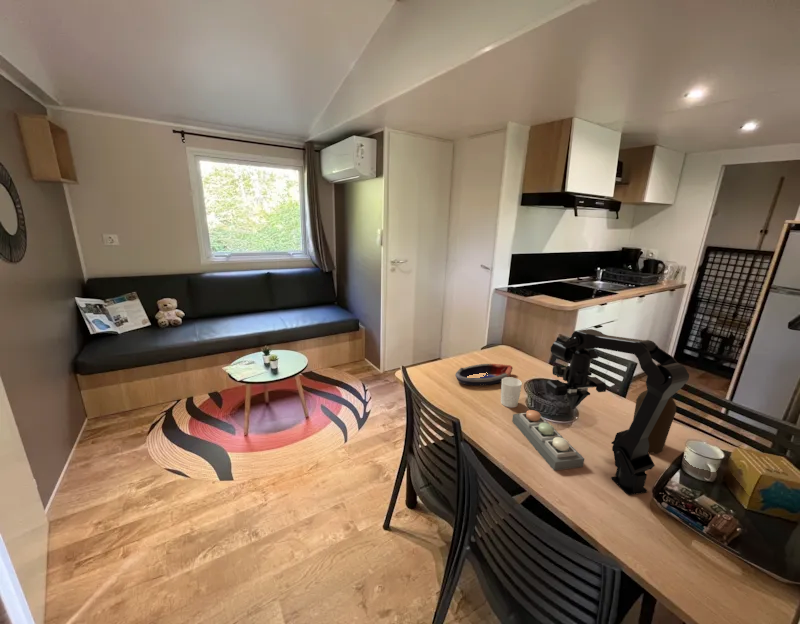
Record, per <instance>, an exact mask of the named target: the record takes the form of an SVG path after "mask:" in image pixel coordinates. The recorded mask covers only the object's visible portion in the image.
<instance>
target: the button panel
mask: <svg viewBox="0 0 800 624" xmlns="http://www.w3.org/2000/svg"><path fill="white" fill-rule="evenodd" d="M511 419H512V420H511V421H512V423H513V424H514V425H515V427H516V428H517V429H518V430H519V431H520V432H521V433H522V435H523V436H524V437H525V438H526V440H528V441H529V443H530V444H531V445H532V447H533V448H534V449H535V450H536V451H537V453H538V454H539V455H540V456H541V458H543V460H545V462H546V464H548V465H549V467H550V468H551V469H552V471H562V470H567V469H577V468H583V467H584V464H585V458H584V456H583V455H581V453H580V452H578V450H576V448H575V447H574V446H573V445H571V444H570V445H569V450H568V451H559V450H557V449H555V448H554V447H553V445H552V443H553V439H554V438H555V437H560V438H564V437H563V436H562V435H561V434H560V433H559V432H558V430H556V429H555V428H554V433H553V435H544V434H542V433H540V432H539V430H538V428H539V424H540V423H548V424H550V422H548V421H547V420H546V419H545V418H544V417H543V416H542V415H541V416H540V420H539V421H536V422H535V421H531V420H529V419H527V418H526V412H521V413H520V412H519V413H513V414H512V418H511Z"/></svg>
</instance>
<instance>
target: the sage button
mask: <svg viewBox="0 0 800 624" xmlns="http://www.w3.org/2000/svg"><path fill="white" fill-rule="evenodd" d="M548 423H549V422H548ZM548 423H540V424H539V428H538V430H539V432H540V433H542V434H544V435H553V433H554V429H555V427H554V426H553V425H551V424H550V423H549V424H548Z"/></svg>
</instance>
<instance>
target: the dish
mask: <svg viewBox="0 0 800 624" xmlns="http://www.w3.org/2000/svg"><path fill="white" fill-rule="evenodd" d="M486 372H487V373H488V374H487V373H486ZM512 372H513V366H512V365H510V364H501V363H480V364H474V365H470V366H465V367H460V368H459V369H458V370H457V371H456V372H455V374H454V375H455V377H456V380H457V381H458V382H459V383H460V384H463V385H467V386H490V385H495V384H499V383H502V379H503V378H505V377H510V375H511V373H512ZM479 373H486V375H485V376H484V375H483V376H484V377H480V378H467V376H469V375H473V374H479ZM487 375H488V376H487Z"/></svg>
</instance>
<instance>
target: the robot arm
mask: <svg viewBox="0 0 800 624" xmlns="http://www.w3.org/2000/svg"><path fill="white" fill-rule="evenodd" d="M589 349H591V350H589ZM594 349H603V350H608V351H613V352H619V353H624V354H631V355H634V356H635V357H636V358H637V360H638V363H639V366H640V368H641V370H642V372H644V374H645V375H646V380H645V385H646V390H647V393H646V395H645V397H644V399H643V401H642V403H641V405H640V407H639V409H638V411H637V413H636V415H635V417H634V416H633V418H634V420H633V419H632V422H631V423H630V425H629V428H628V429H626V430H621V431H619V432H617V433H616V434H615V436H614V439H613V441H611V444H612V447H611V450H612V452H613V457H614V459H613V460H614V465H615V467H616V472H615V476H611V478H610V479H611V480H612V482H614V483H615V484H616V485H617V486H618V487H619V488H620V489H621V490H622V491H623V493H624V492H625V493H626V495H628V496H633V495H639V494H645V493H648V489H646V487H645V484H646V480H647V477H648V474H647V473H646V471H647V472H648V471H650V470H652V469H653V468H654V467H655V466H656V464H655V463H654V461H653V459H652V458H651V455H650V453H649V452H648V449H649V442H648V437H649V435H650V433H651V431H652V429H653V427H654V425H655V424H656V422H657V420H658V418H659V416H660V414H661V412H662V411H663V409H664V407H665V405H666V403H667V401H668V399H669V398H670V397H672V396H674V395H675V394H676V393H677V392H679V391H680V390H681V389H682V388H683V387H684V385H685V384H686V383H687V382H688V381H689V378H690V373H688V371H687V368H686V367H685V366H684V365H682V364H681V363H679V362H678V361H677V360H676V358H674V357H673V356H672V355H671V354H669V353H667V352H666V351H665V350H663V349H662V348H660V346H658V345H657V344H656V343H655V342H654V341H653V340H649V339H639V338H638V339H637V338H629V337H624V336H623V337H622V336H614V335H608V334H604V333H602V332H601V331H599V330H596V329H593V328H589V329H588V328H587V329H586V328H585V329H581V330H575V331H573V332H572V334H571V337H569V338H568V339H567V338H565V337H563V336H557V337H556V340H554V342H553V343H552V345H551V346H550V352H551V355H554V356H556V357H558V358H560V359H561V360H564V361H566V362H567V361H568V362H569V361H570V363H569V365H567V366H566V367H565V366H564V367H561V365H553V366H552V372H551V373H552V375H553V376H556V377H557V378H561V379H562V380H563V381H564V382H565V383H563V382H562V381H560V380H559V379H552V380H551V379H550V380H547V381H546V384H545V388H546V389H547V390H548V391H550V392H551V393H552V394H553V395H554V396H557V397H561V396H565V395H566V396H567V399H568V404H569V405H568V406H569V408H570V409H571V410H575V409H576V408H577V407H578V405H579V404H581V402H582V401H583V400H585V398H587V397H588V396H590V395H591V392H589V389H590V388H591V389H592V388H595V390H596V392H597V393H605V392H606V391H607V384H606V382H604V381H603V380H601V379H599V378H598V377H597V376H592V372H591V371H590V368H591V367H590V366H591V362H592V360H595V359H598V358H600V357H599V355H598V353H596V351H595V350H594ZM655 362H657V363H658V364H656V363H655ZM591 376H592V377H591ZM625 493H624V494H625Z"/></svg>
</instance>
